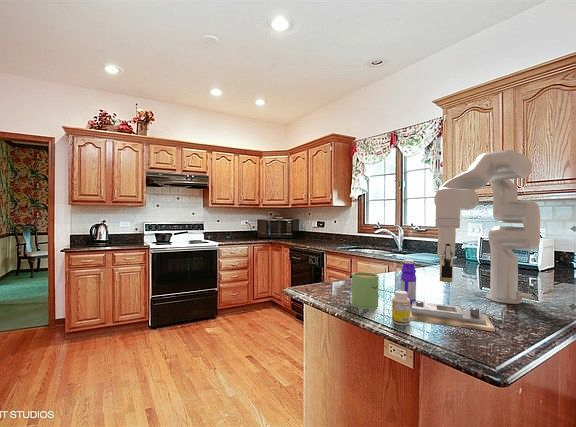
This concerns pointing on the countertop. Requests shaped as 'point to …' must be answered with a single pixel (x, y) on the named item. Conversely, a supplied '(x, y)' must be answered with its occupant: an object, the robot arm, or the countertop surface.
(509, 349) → the countertop surface
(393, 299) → the supplement bottle
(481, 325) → the board
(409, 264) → the bottle
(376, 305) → the mug
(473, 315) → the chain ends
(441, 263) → the pin
